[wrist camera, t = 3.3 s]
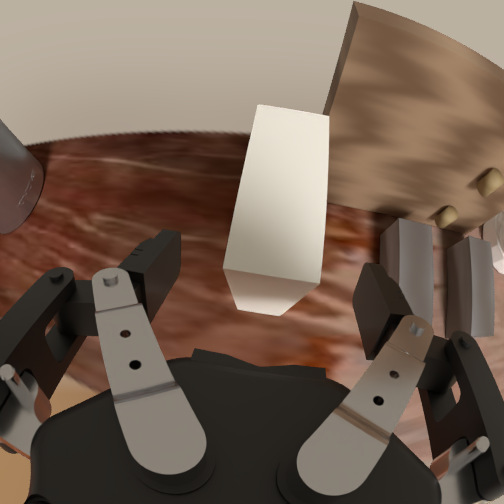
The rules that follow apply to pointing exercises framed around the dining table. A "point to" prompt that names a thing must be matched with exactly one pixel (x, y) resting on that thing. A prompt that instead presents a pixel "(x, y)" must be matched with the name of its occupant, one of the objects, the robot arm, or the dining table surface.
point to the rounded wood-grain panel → (420, 155)
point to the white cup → (496, 239)
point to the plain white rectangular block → (279, 211)
